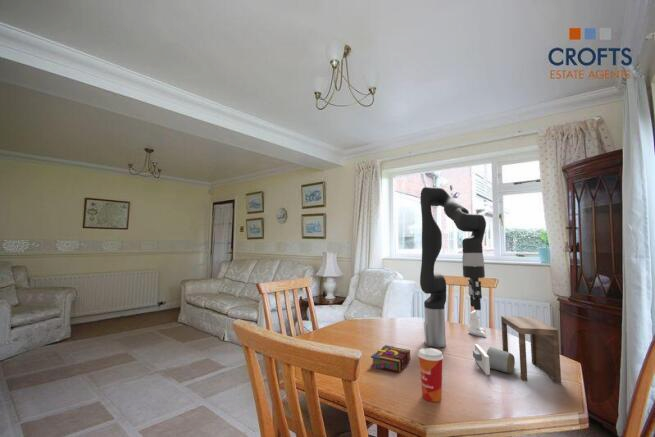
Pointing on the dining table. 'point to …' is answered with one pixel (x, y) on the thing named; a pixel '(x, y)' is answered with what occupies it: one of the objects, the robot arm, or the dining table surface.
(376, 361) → the brown patterned box
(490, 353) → the ceramic mug
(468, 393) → the dining table surface
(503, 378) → the dining table surface
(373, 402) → the dining table surface
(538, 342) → the brown wooden small table
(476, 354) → the pull-out front
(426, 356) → the paper cup
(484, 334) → the seated beast figurine
